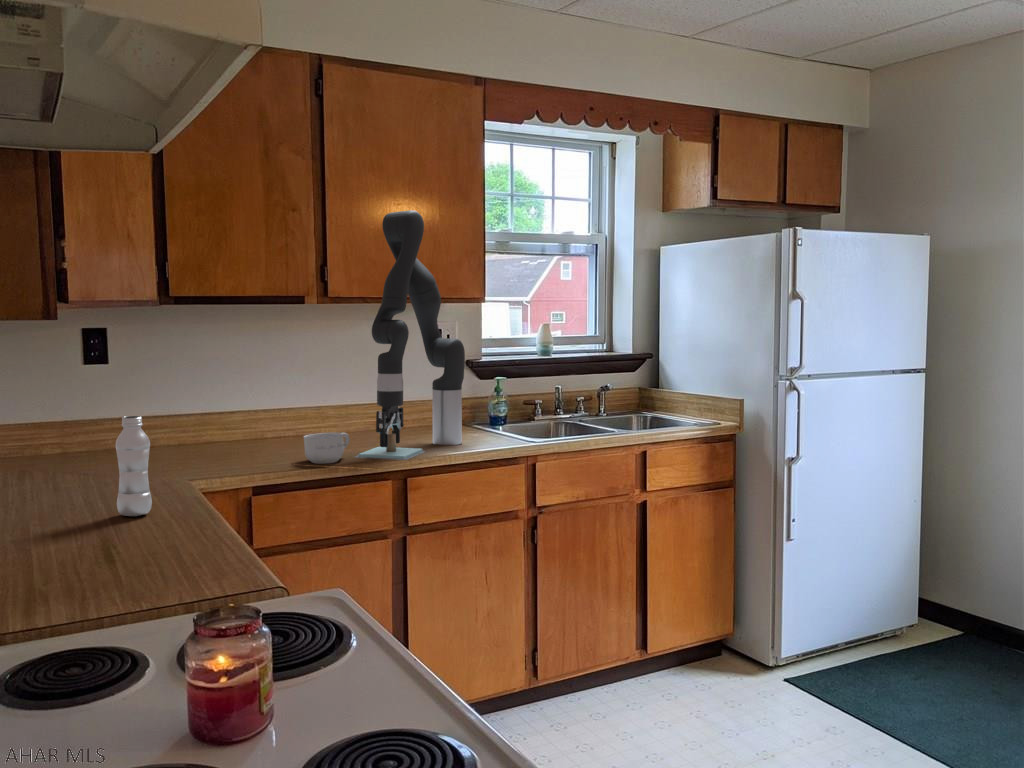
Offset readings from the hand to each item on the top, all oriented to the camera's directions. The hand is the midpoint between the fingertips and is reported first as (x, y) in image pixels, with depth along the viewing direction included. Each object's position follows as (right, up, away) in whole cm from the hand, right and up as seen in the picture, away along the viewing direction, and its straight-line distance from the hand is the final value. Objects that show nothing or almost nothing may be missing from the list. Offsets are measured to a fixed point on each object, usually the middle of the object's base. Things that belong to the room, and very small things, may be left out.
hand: (390, 445), depth 245 cm
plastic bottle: (-41, -9, -74) cm, 85 cm away
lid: (0, -3, 0) cm, 3 cm away
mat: (0, -3, 0) cm, 3 cm away
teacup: (-15, -4, -11) cm, 19 cm away
